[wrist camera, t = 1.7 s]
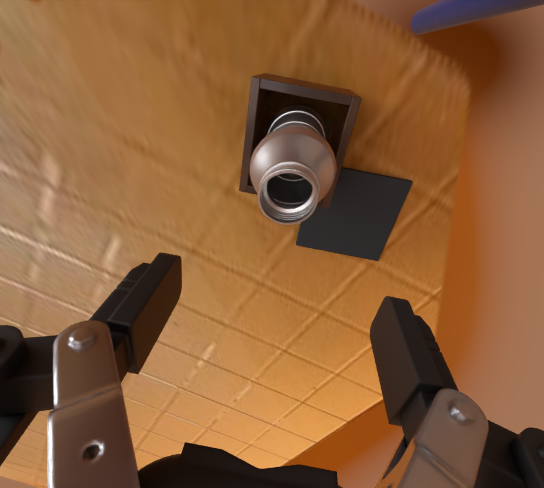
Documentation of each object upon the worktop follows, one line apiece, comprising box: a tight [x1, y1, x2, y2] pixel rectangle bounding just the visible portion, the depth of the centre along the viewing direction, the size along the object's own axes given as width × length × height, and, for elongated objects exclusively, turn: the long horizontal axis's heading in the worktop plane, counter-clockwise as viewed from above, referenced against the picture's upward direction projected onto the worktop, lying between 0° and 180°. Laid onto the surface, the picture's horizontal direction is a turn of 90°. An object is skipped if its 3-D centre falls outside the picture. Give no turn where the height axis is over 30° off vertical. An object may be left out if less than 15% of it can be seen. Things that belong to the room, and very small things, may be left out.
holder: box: [239, 73, 361, 208], centre depth 31 cm, size 11×10×8 cm
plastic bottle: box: [250, 105, 337, 225], centre depth 26 cm, size 6×7×20 cm
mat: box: [296, 167, 413, 261], centre depth 39 cm, size 12×12×1 cm
